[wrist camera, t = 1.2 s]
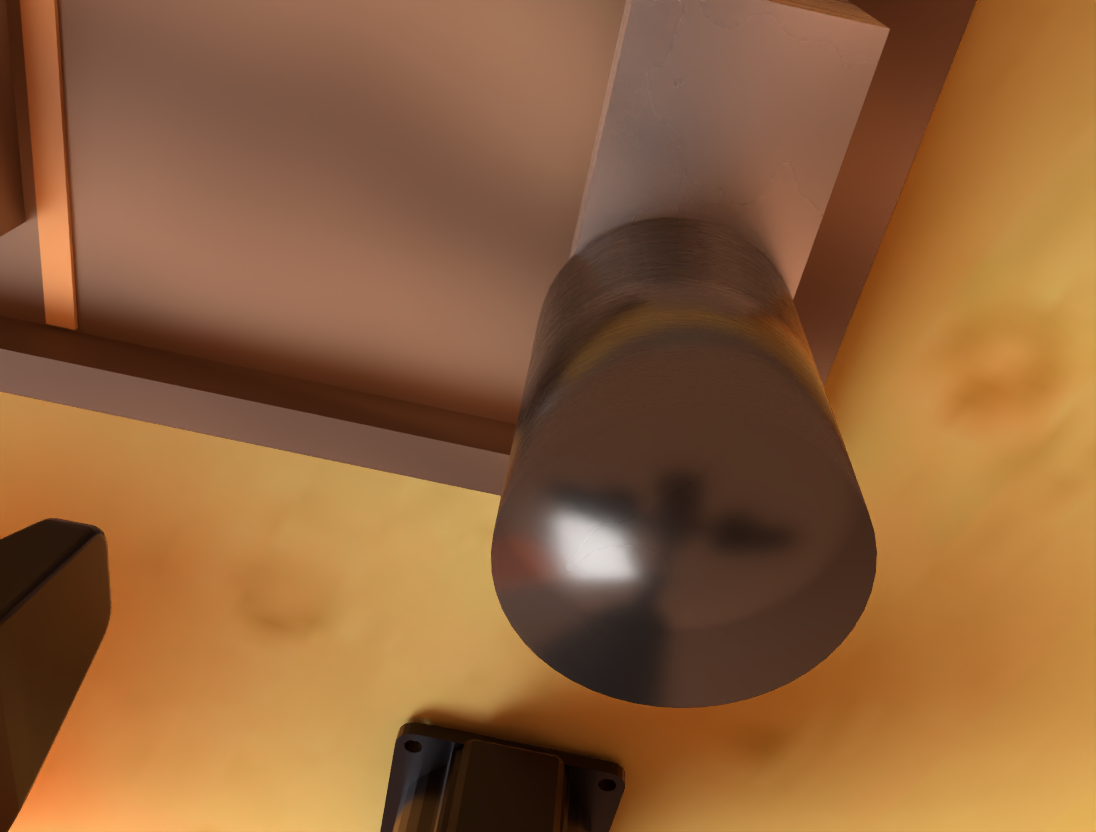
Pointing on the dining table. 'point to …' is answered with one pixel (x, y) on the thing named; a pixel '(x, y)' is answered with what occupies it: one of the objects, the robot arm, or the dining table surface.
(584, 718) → the dining table surface
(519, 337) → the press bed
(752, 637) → the jaw
